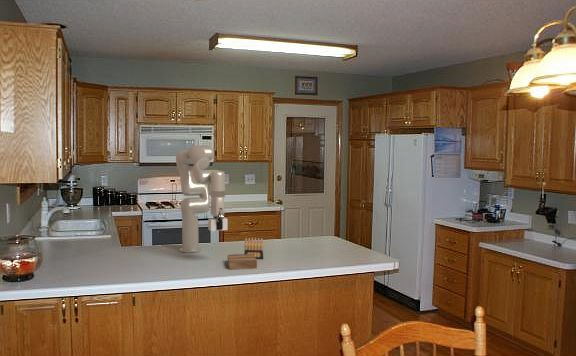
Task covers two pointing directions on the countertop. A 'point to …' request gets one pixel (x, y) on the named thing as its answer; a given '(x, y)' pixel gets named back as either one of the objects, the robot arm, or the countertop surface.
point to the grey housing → (213, 224)
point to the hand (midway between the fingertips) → (217, 228)
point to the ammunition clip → (254, 248)
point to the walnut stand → (242, 261)
